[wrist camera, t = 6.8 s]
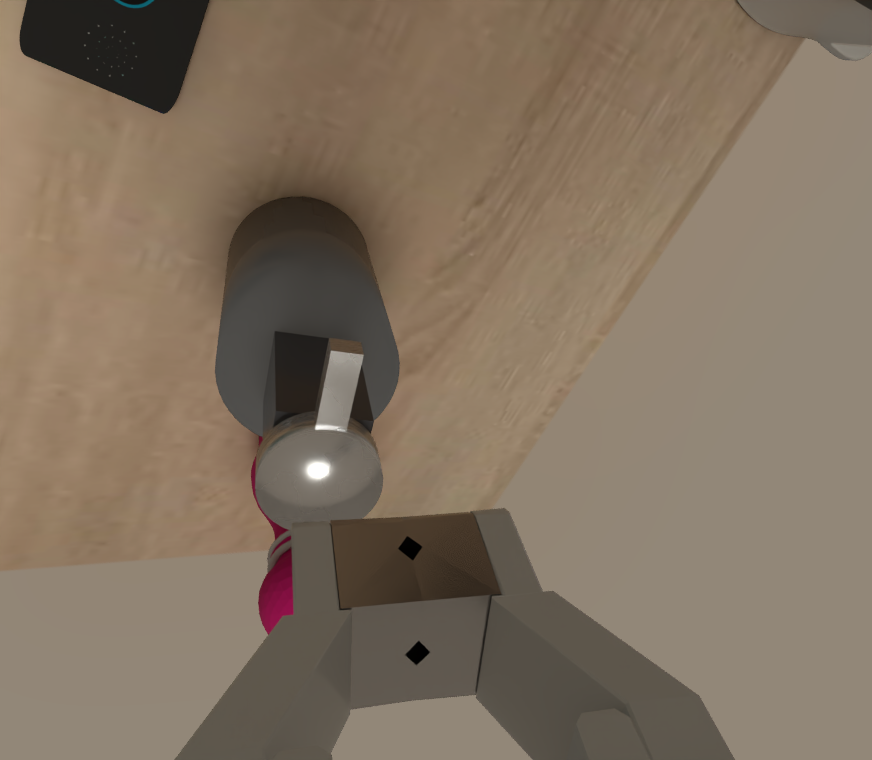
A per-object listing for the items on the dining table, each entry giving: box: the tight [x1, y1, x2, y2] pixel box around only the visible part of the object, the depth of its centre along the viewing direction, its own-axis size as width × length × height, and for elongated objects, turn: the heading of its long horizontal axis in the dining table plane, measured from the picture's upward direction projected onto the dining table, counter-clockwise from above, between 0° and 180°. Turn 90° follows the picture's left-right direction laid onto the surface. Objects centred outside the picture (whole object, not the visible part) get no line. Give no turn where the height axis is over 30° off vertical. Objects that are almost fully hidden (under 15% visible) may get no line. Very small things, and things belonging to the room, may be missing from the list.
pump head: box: [255, 338, 383, 530], centre depth 33 cm, size 8×5×9 cm, turn 166°
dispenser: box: [215, 197, 400, 439], centre depth 40 cm, size 9×9×21 cm
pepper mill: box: [251, 436, 293, 635], centre depth 48 cm, size 7×7×20 cm
